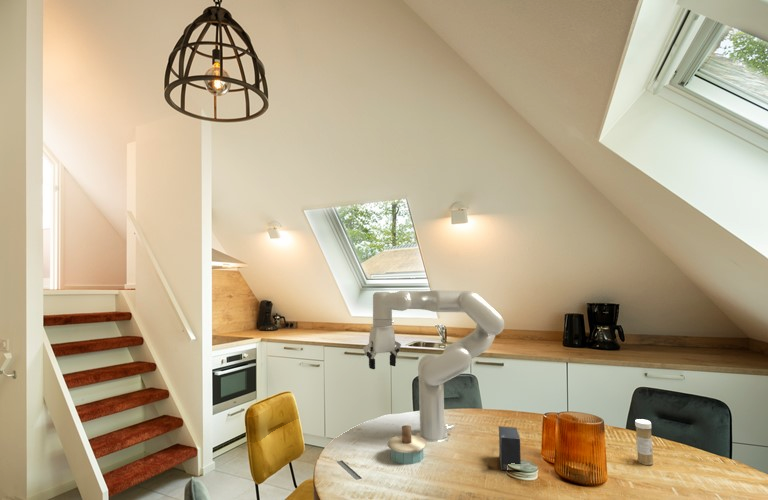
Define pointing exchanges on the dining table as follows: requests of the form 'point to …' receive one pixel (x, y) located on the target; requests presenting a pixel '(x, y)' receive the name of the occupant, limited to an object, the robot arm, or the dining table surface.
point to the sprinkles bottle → (644, 441)
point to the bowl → (406, 457)
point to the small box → (509, 446)
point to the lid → (406, 442)
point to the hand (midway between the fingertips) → (382, 367)
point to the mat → (349, 470)
